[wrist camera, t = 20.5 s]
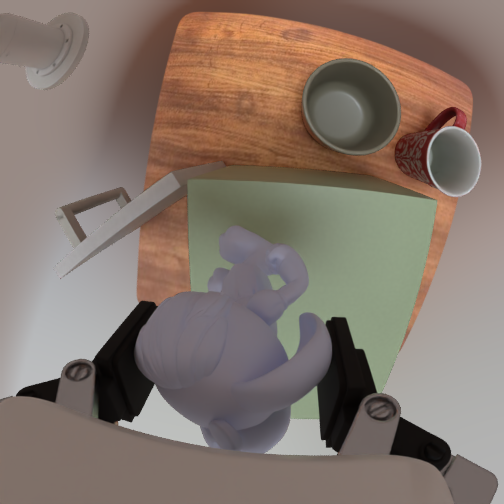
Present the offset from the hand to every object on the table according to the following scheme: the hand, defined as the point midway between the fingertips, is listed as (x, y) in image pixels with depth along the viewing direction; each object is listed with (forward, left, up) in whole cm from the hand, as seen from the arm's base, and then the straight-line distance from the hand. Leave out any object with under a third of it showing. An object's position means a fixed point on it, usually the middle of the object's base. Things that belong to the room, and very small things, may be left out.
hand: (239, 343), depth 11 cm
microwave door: (-18, +2, -36) cm, 40 cm away
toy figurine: (0, 0, -7) cm, 7 cm away
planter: (+9, +14, -36) cm, 40 cm away
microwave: (+3, -9, -36) cm, 38 cm away
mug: (+23, +11, -36) cm, 45 cm away
